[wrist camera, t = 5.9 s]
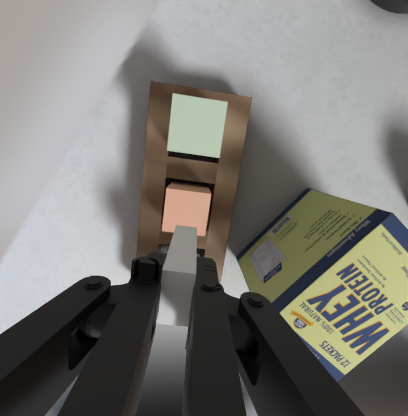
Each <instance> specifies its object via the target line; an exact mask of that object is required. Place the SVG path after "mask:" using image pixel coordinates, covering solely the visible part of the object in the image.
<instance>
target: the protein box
mask: <svg viewBox="0 0 408 416" xmlns="http://www.w3.org/2000/svg"><path fill="white" fill-rule="evenodd" d="M236 258H237V261H238V263H239V266H240V268H241V271H242V273H243V275H244V278H245V281H246V283H247V286H248V288H249V291H250V292H255V293H259V294H261V295H263V296H264V297H266V298H267V299H268V300H269V301H270V302H271V303H272V304H273V306H274V307H275V308H276V309H277V310H278V312H279V313H280V314H281V315H282V317H283V318H284V319H285V320H286V321H287V323H288V324H289V325H290V326H291V327H292V329H293V330H294V331H295V332H296V333H297V335H298V336H299V337H300V338H301V339H302V341H303V342H304V343H305V344H306V345H307V347H308V348H309V349H310V350H311V352H312V353H313V354H314V355H315V356H316V358H317V359H318V360H319V361H320V362H321V364H322V365H323V366H324V367H325V368H326V370H327V371H328V372H329V373H330V374H331V376H332V377H333V378H334V379H335V380H336V382H337V381H338V380H339V379H340V378H342V377H343V376H344V375H345V374H347V373H348V372H349V371H350V370H351V369H352V368H354V367H355V366H356V365H357V364H359V363H360V362H361V361H362V360H364V359H365V358H366V357H367V356H369V355H370V354H371V353H372V352H374V351H375V350H376V349H377V348H378V347H380V346H381V345H382V344H383V343H384V342H386V341H387V340H388V339H389V338H391V337H392V336H393V335H394V334H396V333H397V332H399V331H400V330H401V329H402V328H403V327H404V326H405V325H407V324H408V229H407V228H406V227H405V226H404V225H403V224H402V223H401V222H400V220H399V219H398V218H397V217H396V216H395V215H394V214H393V213H391V212H387V211H383V210H380V209H377V208H373V207H370V206H366V205H363V204H359V203H356V202H353V201H349V200H346V199H342V198H339V197H336V196H332V195H329V194H326V193H322V192H319V191H315V190H312V189H309V188H307V189H306V190H305V191H304V192H303V193H302V194H301V195H300V196H299V197H298V198H297V199H296V200H295V201H294V202H293V203H292V204H290V205H289V206H288V207H287V208H286V209H285V210H284V211H283V212H282V213H281V214H280V215H279V216H278V217H277V218H276V219H275V220H274V221H273V222H272V223H271V224H270V225H269V226H268V227H267V228H266V229H265V230H263V231H262V232H261V233H260V234H259V235H258V236H257V237H256V238H255V239H254V240H253V241H252V242H251V243H250V244H249V245H248V246H247V247H246V248H245V249H244V250H243V251H242V252H241V253H240V254H239V255H238V256H237V257H236Z"/></svg>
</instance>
